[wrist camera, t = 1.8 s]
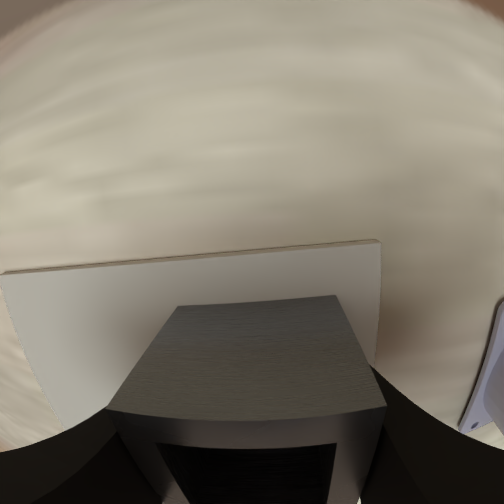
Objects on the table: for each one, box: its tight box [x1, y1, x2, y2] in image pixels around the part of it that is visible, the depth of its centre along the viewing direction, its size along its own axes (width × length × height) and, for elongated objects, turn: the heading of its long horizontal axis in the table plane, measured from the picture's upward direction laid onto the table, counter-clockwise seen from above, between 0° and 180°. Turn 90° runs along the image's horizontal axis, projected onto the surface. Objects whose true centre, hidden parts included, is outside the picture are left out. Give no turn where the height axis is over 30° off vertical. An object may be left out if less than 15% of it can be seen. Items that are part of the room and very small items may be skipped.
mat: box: [0, 240, 381, 431], centre depth 12 cm, size 16×27×1 cm, turn 6°
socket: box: [105, 295, 387, 504], centre depth 7 cm, size 5×5×5 cm
